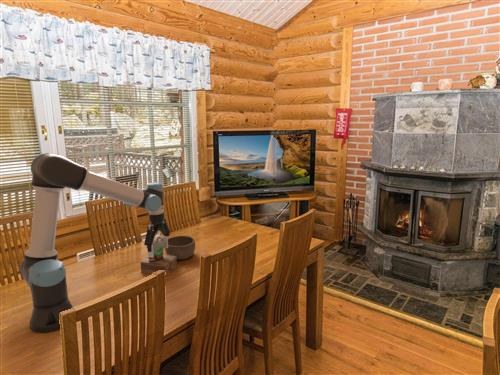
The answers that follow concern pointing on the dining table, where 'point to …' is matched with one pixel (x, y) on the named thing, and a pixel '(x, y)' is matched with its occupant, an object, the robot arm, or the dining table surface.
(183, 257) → the bowl
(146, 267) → the walnut block
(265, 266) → the dining table surface
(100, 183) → the robot arm
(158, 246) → the food container
